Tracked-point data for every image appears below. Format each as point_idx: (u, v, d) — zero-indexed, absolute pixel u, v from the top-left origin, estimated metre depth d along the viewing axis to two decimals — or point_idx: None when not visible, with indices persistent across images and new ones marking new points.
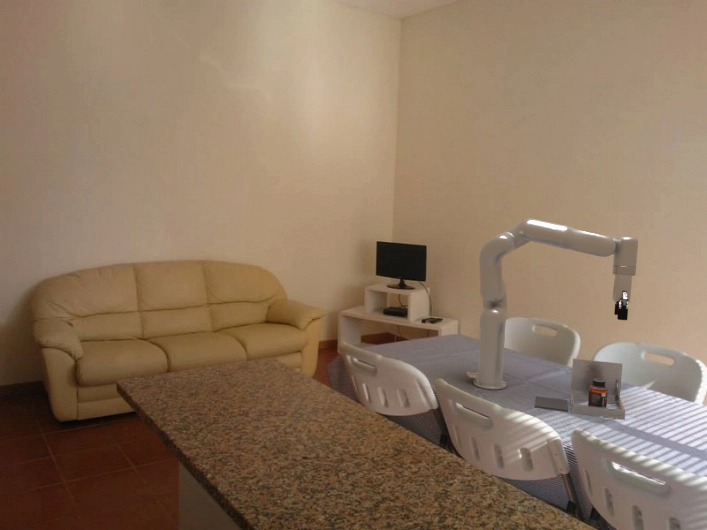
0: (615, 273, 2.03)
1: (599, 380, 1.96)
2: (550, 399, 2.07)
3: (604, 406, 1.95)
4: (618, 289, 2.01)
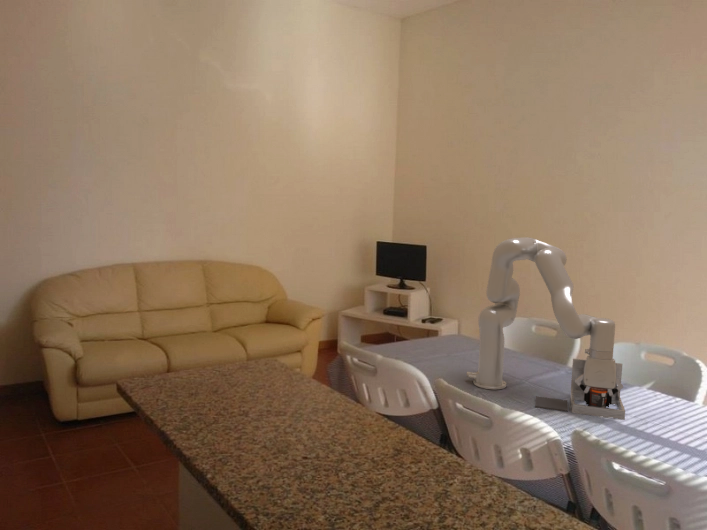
0: (608, 359, 1.92)
1: None
2: (550, 399, 2.07)
3: (604, 406, 1.95)
4: (615, 375, 1.93)
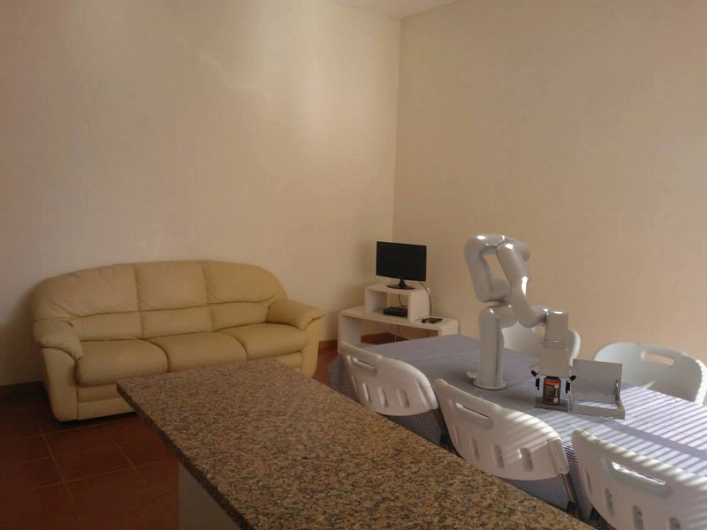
0: (561, 349, 1.97)
1: None
2: None
3: (557, 397, 2.00)
4: (568, 364, 1.98)
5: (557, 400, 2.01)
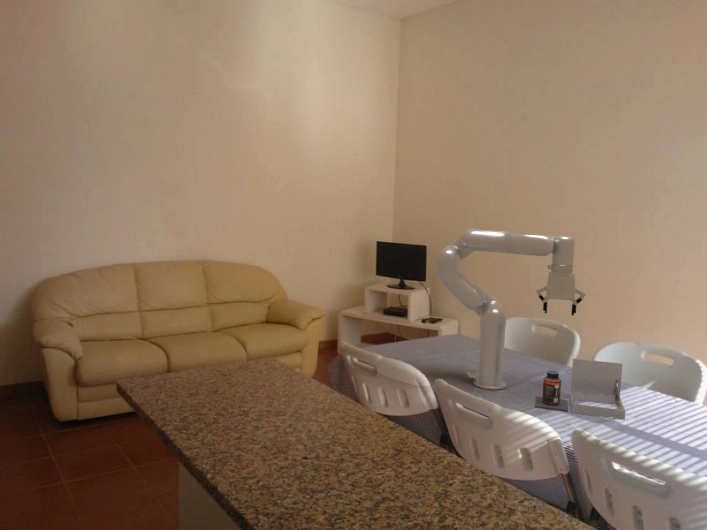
0: (568, 272, 2.09)
1: (553, 372, 2.02)
2: None
3: (557, 397, 2.00)
4: None
5: (557, 400, 2.01)
